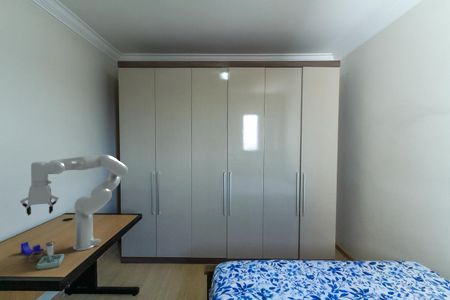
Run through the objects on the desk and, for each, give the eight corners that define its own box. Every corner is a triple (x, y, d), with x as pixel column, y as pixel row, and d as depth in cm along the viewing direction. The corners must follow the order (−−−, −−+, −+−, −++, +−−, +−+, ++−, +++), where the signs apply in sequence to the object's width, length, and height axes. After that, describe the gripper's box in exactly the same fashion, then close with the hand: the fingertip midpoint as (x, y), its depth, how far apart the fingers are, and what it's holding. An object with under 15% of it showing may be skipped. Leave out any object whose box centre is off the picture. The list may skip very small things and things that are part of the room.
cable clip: (43, 253, 141) (42, 243, 141) (34, 257, 137) (34, 247, 136) (29, 250, 145) (29, 240, 145) (21, 253, 141) (20, 243, 140)
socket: (45, 255, 138) (45, 250, 138) (41, 260, 133) (41, 255, 133) (32, 257, 136) (32, 252, 136) (28, 262, 131) (28, 256, 131)
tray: (64, 257, 136) (64, 253, 136) (59, 266, 127) (59, 262, 127) (43, 260, 132) (43, 256, 132) (36, 270, 123) (36, 265, 123)
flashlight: (55, 260, 132) (55, 241, 131) (53, 263, 128) (53, 243, 128) (47, 261, 130) (47, 242, 130) (45, 265, 127) (44, 244, 126)
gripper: (59, 181, 140) (59, 210, 141) (22, 183, 133) (22, 213, 134) (56, 183, 134) (57, 213, 134) (17, 185, 126) (18, 217, 127)
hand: (40, 213), depth 134 cm, fingers open, 9 cm apart
